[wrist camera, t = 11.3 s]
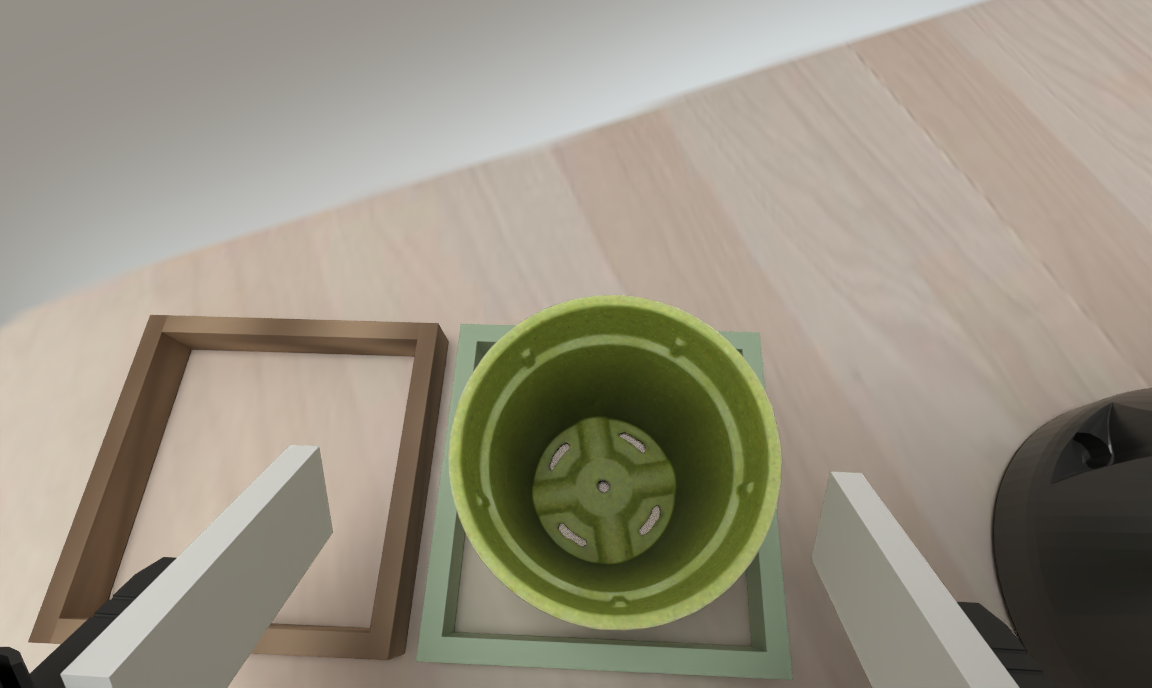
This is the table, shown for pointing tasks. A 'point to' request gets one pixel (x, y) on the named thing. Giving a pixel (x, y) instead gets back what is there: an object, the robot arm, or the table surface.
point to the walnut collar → (138, 436)
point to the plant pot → (615, 462)
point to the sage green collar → (447, 646)
